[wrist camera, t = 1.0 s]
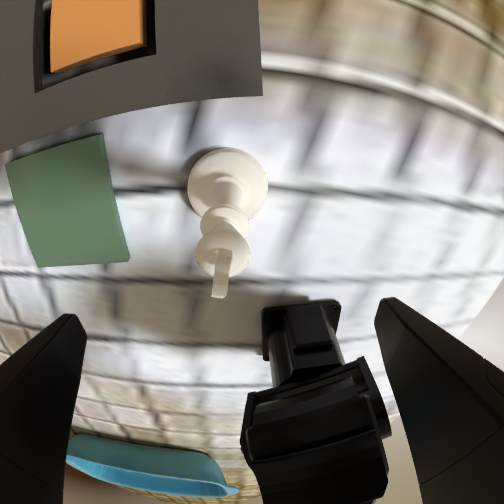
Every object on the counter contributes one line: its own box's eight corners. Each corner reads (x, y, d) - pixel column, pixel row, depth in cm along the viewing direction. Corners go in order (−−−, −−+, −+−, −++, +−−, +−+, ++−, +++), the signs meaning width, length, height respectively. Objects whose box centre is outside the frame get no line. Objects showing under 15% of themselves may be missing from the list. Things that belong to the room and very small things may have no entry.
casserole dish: (93, 456, 49) (89, 479, 42) (47, 417, 37) (38, 446, 31) (240, 473, 50) (241, 499, 44) (234, 443, 39) (235, 481, 32)
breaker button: (147, 46, 11) (139, 42, 10) (62, 72, 11) (50, 72, 10) (147, -32, 8) (140, -40, 7) (63, -2, 8) (52, -6, 7)
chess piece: (276, 156, 16) (321, 233, 8) (258, 228, 19) (276, 348, 10) (193, 142, 16) (143, 203, 7) (183, 216, 18) (144, 331, 10)
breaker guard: (256, 95, 14) (262, 95, 11) (27, 141, 14) (-8, 157, 11) (247, -66, 8) (250, -97, 5) (23, -1, 8) (-9, -7, 4)
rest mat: (130, 257, 19) (127, 261, 19) (41, 263, 19) (38, 267, 19) (102, 133, 15) (98, 134, 14) (9, 162, 15) (5, 164, 14)
